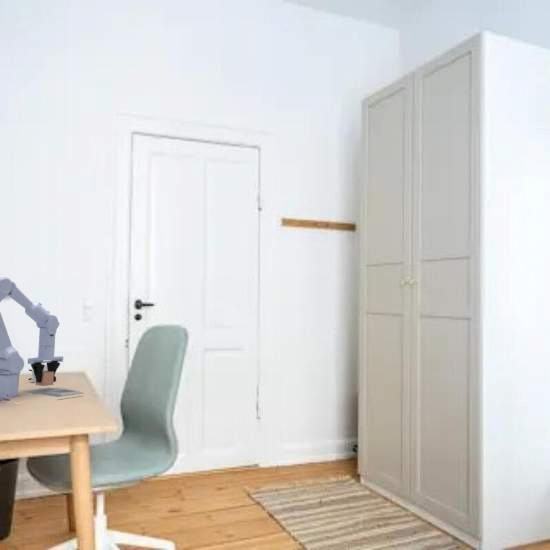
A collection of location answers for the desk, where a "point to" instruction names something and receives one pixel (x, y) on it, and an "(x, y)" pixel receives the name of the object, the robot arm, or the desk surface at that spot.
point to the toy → (33, 379)
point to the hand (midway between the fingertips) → (44, 381)
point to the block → (46, 378)
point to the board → (43, 390)
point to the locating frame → (55, 392)
